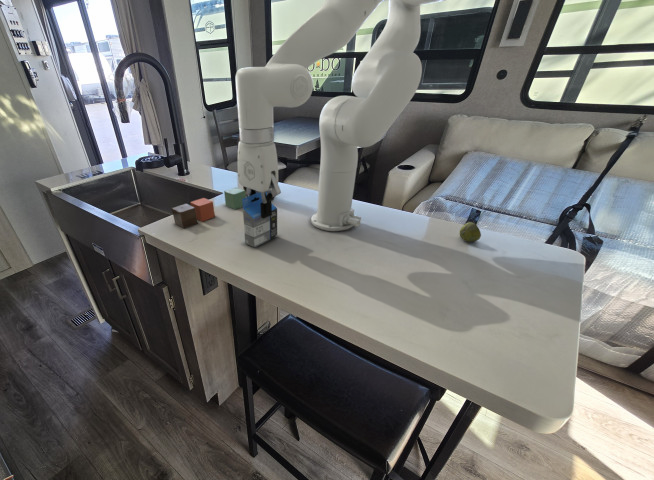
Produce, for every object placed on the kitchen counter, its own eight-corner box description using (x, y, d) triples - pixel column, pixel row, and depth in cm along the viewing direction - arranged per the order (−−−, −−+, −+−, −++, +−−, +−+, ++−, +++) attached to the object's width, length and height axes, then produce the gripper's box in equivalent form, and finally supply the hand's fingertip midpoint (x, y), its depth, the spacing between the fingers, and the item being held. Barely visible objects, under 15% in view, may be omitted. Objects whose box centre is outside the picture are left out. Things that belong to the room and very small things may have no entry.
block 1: (197, 223, 95) (194, 207, 92) (183, 228, 92) (180, 212, 89) (189, 218, 98) (186, 203, 95) (175, 223, 95) (171, 208, 92)
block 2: (215, 216, 98) (212, 201, 95) (201, 221, 96) (199, 206, 93) (206, 212, 101) (203, 197, 98) (193, 217, 99) (190, 202, 96)
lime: (458, 235, 82) (465, 217, 79) (479, 240, 80) (487, 222, 77) (454, 242, 80) (461, 223, 77) (475, 247, 77) (483, 228, 74)
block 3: (246, 205, 105) (245, 190, 102) (234, 209, 102) (233, 194, 99) (237, 201, 108) (235, 187, 105) (225, 205, 105) (224, 191, 102)
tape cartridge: (254, 248, 81) (251, 202, 73) (244, 243, 83) (240, 198, 76) (277, 236, 86) (277, 192, 78) (267, 232, 88) (266, 189, 80)
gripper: (220, 134, 72) (229, 210, 83) (270, 144, 62) (272, 228, 73) (245, 129, 76) (250, 202, 87) (296, 137, 66) (294, 218, 77)
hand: (260, 213), depth 80 cm, fingers closed on tape cartridge, 3 cm apart
